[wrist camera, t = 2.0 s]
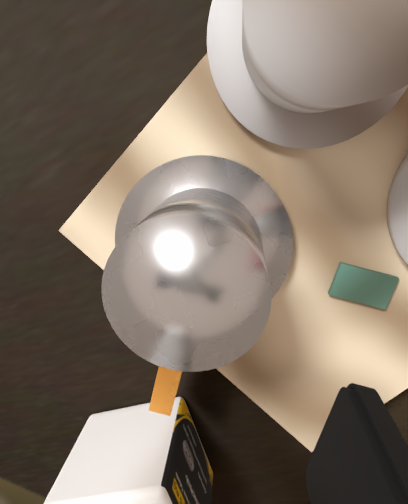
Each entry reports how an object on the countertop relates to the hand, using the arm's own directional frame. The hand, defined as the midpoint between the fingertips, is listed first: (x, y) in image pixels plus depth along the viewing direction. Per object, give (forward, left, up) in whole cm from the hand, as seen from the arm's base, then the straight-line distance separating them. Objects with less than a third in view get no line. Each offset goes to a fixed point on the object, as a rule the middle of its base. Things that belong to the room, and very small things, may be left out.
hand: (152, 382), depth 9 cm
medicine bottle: (+13, +8, -13) cm, 20 cm away
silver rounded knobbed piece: (+1, +1, -10) cm, 11 cm away
